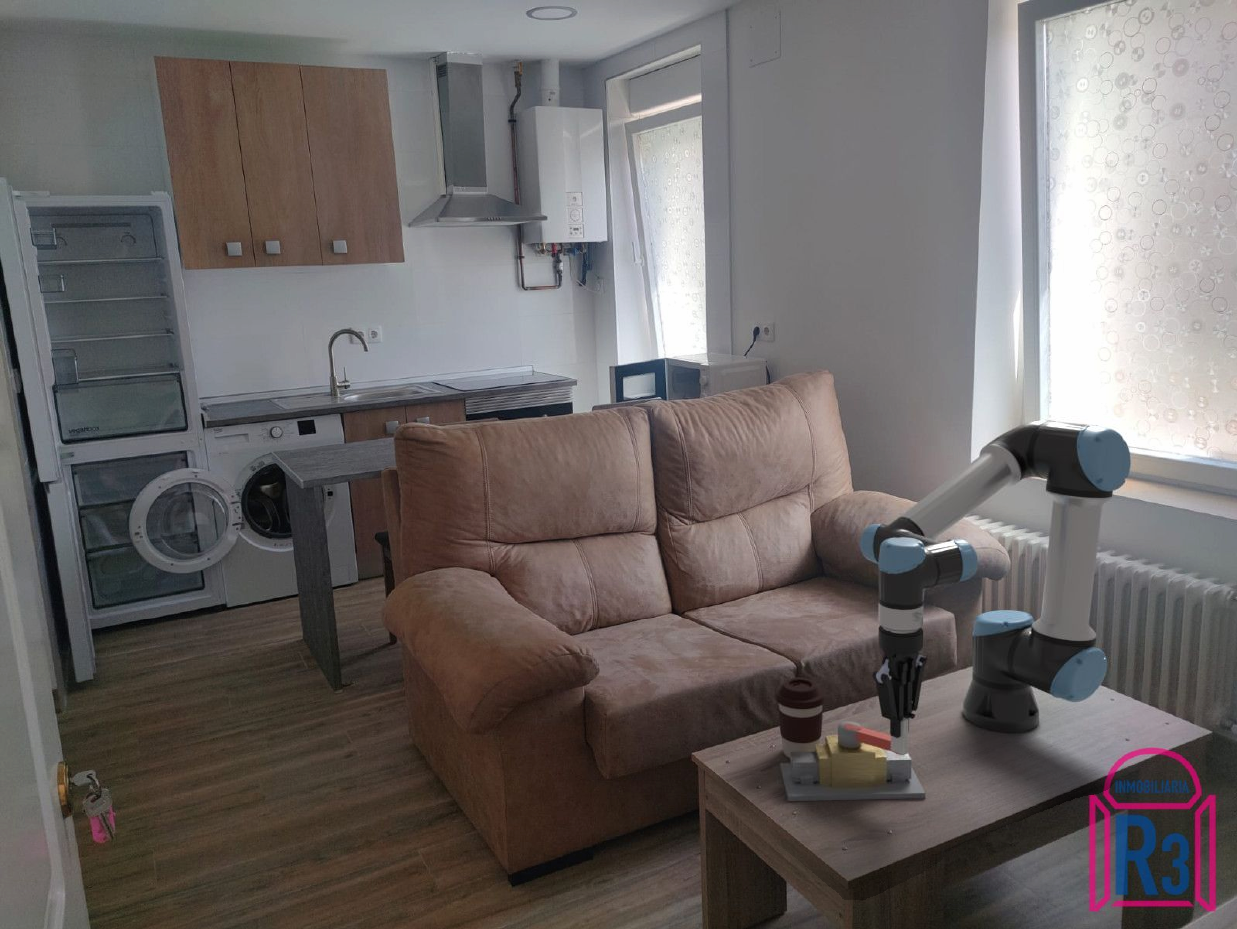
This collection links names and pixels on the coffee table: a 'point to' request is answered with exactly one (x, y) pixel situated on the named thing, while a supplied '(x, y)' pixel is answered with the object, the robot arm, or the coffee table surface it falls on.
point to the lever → (861, 736)
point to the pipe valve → (848, 765)
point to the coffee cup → (800, 714)
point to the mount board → (850, 789)
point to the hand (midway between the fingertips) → (899, 751)
